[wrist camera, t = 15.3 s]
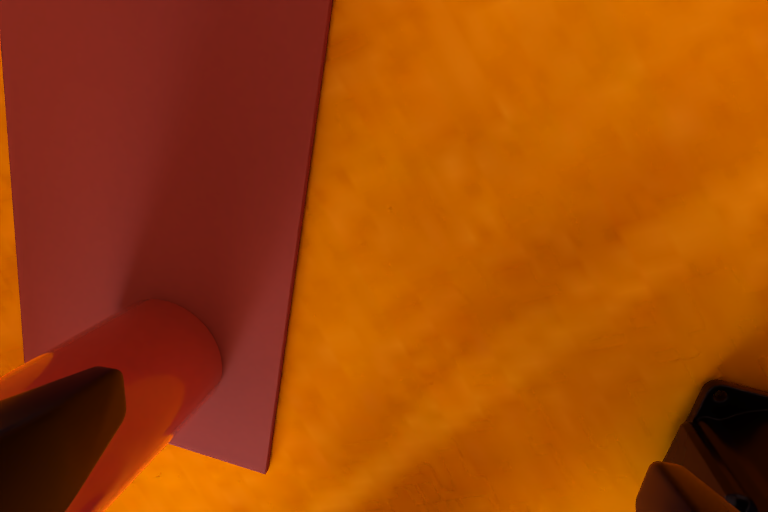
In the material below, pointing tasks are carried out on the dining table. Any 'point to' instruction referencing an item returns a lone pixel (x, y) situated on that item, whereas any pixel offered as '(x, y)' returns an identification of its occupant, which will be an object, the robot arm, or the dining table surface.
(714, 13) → the dining table surface
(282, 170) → the sorting mat
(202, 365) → the red canister
